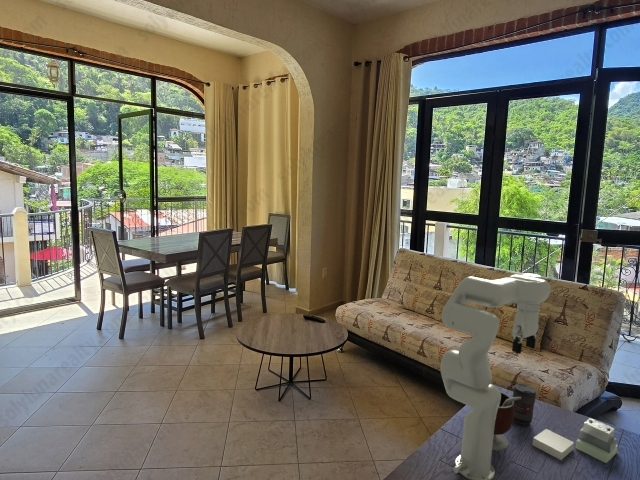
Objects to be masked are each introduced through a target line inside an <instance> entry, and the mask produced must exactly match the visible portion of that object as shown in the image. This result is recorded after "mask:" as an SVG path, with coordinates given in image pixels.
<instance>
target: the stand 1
mask: <svg viewBox="0 0 640 480" xmlns="http://www.w3.org/2000/svg"><path fill="white" fill-rule="evenodd" d="M532 439H533V440H532V446H534V447H535V448H537V449H539V450H541V451H543V452H544V453H546V454H548V455H550V456H552V457H554V458H555V459H558V460H560V461H563V459H564V458H565V457H567V456H568V455H569V454H570V453H571V452H573V450H574V446H575V442H574V441H572V440H570V439H568V438H566V437H563V436H562V435H559V434H558V433H557V432H553V431H552V430H549V429H547V428H545V429H543V430H542V431H541V432H540V433H538V434H537V435H535V436H533V438H532Z"/></svg>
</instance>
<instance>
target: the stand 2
mask: <svg viewBox="0 0 640 480" xmlns="http://www.w3.org/2000/svg"><path fill="white" fill-rule="evenodd" d="M618 447H619V446H618V444H616V447H615V449H614V450H613V451H612V452H611V453H608V452H606V451H604V450H602V449H600V448H597V447H595V446H593V445H591V444H589V443H587V442H585V441H583V440H581V439H579V438H577V440H576V441H575V449H577V450H579V451H581V452H583V453H585V454H587V455H589V456H590V457H593V458H595V459H596V460H599V461H601V462H603V463H604V464H607V463H608V462H609V461H610V460H611V459H613V457H614V456H615V455H616V454H617V453H618Z"/></svg>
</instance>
